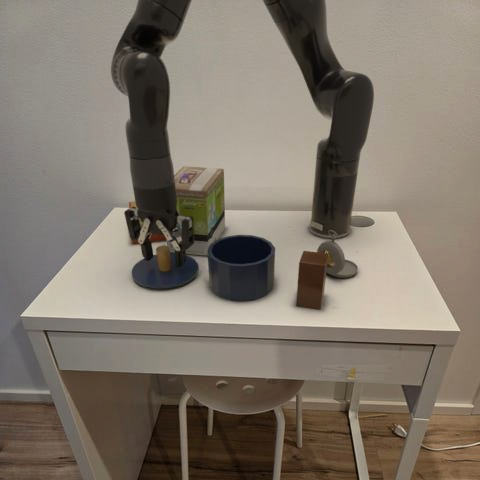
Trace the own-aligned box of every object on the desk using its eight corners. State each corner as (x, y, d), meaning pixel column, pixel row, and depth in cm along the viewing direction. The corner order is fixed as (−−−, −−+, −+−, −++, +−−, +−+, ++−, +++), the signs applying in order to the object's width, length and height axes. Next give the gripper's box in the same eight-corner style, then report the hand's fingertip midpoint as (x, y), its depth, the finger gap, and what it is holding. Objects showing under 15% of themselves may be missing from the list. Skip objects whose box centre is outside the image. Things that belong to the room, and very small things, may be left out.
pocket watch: (359, 265, 90) (366, 220, 84) (353, 286, 84) (361, 238, 78) (319, 260, 92) (324, 215, 86) (311, 279, 86) (316, 232, 80)
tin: (216, 266, 91) (214, 233, 86) (276, 269, 89) (277, 236, 85) (204, 299, 81) (201, 263, 77) (270, 303, 79) (271, 267, 75)
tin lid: (144, 256, 95) (140, 232, 92) (204, 259, 93) (203, 235, 90) (122, 288, 84) (117, 262, 81) (190, 293, 83) (187, 267, 79)
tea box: (210, 257, 94) (206, 190, 85) (166, 253, 96) (158, 187, 87) (226, 228, 106) (224, 166, 97) (187, 225, 108) (181, 164, 99)
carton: (163, 214, 114) (161, 198, 111) (168, 241, 101) (166, 223, 98) (130, 217, 112) (128, 201, 110) (131, 244, 100) (128, 227, 97)
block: (300, 293, 82) (303, 250, 77) (323, 296, 81) (328, 253, 76) (295, 306, 79) (299, 262, 73) (320, 309, 78) (325, 265, 72)
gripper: (199, 178, 78) (205, 260, 88) (131, 169, 83) (144, 248, 93) (178, 192, 72) (187, 278, 82) (107, 181, 77) (123, 264, 87)
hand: (164, 262), depth 87 cm, fingers open, 6 cm apart
